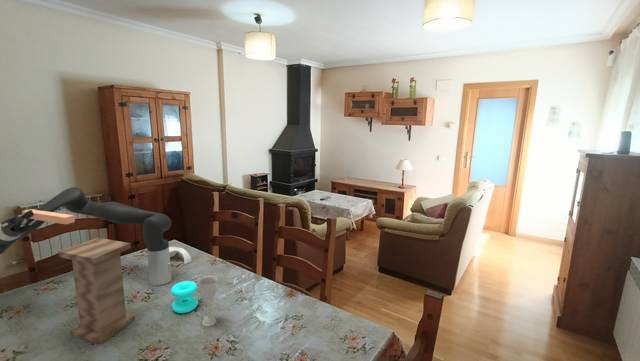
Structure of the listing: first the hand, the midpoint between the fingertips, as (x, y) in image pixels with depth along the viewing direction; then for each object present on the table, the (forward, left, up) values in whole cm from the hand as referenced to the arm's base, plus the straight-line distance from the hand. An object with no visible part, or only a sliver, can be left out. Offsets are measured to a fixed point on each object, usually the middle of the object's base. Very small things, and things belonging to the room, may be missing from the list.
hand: (37, 211), depth 115 cm
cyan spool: (-46, +23, -43) cm, 67 cm away
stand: (-18, +21, -42) cm, 50 cm away
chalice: (-52, +38, -43) cm, 77 cm away
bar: (-3, +4, -3) cm, 6 cm away
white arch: (-49, -30, -43) cm, 72 cm away
